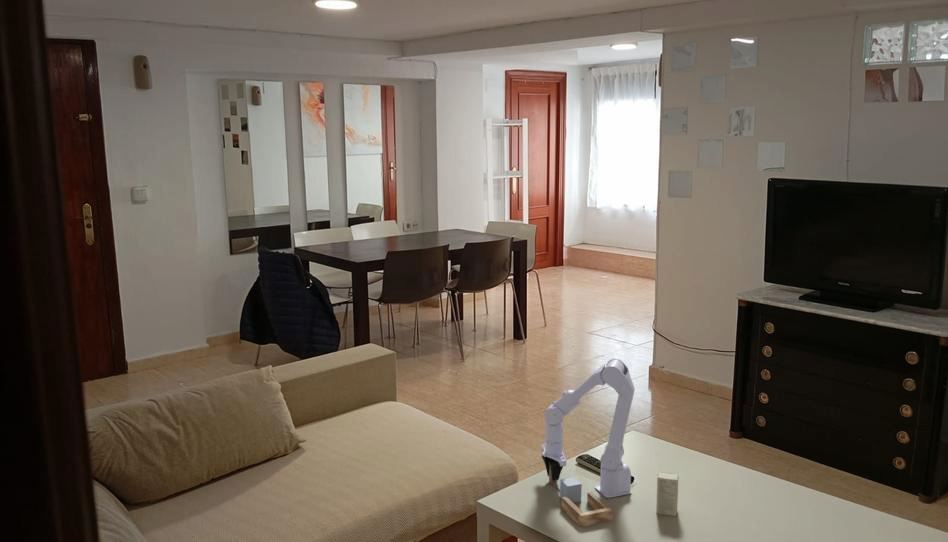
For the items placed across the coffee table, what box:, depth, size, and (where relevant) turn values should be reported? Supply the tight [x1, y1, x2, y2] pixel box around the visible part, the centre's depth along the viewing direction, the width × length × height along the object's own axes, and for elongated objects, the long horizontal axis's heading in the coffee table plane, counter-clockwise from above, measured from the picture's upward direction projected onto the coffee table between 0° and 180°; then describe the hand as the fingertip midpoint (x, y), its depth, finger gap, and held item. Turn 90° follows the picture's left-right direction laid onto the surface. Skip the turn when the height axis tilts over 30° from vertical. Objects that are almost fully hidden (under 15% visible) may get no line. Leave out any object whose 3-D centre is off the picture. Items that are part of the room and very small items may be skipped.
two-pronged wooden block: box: [560, 491, 614, 527], centre depth 236 cm, size 11×13×4 cm
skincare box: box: [655, 471, 679, 517], centre depth 237 cm, size 6×4×12 cm
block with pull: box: [548, 465, 583, 504], centre depth 251 cm, size 5×16×6 cm, turn 21°
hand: (553, 477), depth 257 cm, fingers closed on block with pull, 3 cm apart
